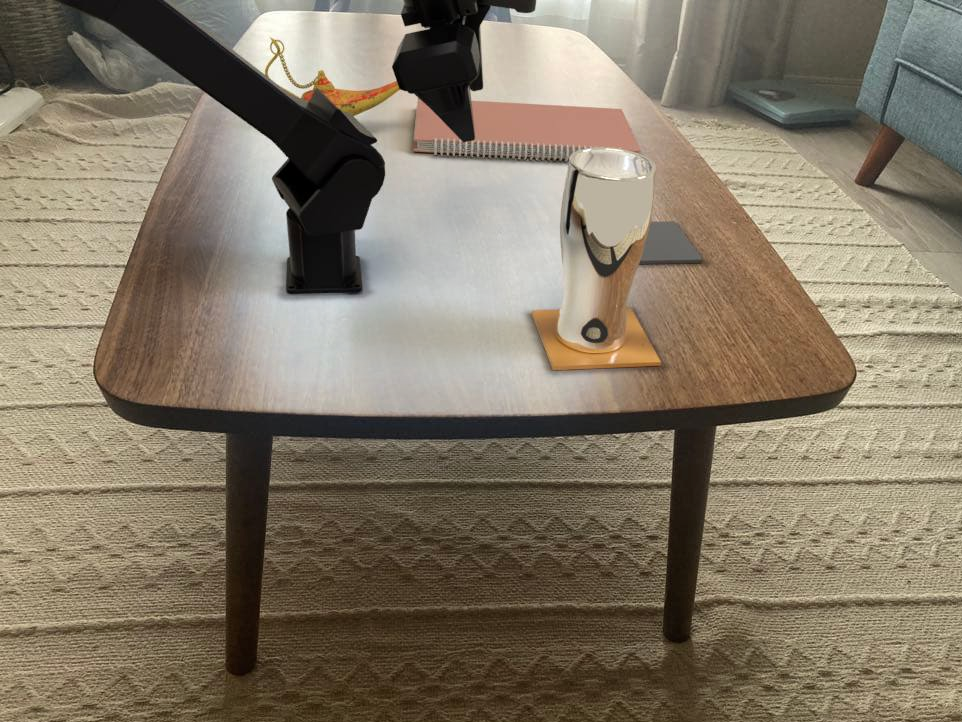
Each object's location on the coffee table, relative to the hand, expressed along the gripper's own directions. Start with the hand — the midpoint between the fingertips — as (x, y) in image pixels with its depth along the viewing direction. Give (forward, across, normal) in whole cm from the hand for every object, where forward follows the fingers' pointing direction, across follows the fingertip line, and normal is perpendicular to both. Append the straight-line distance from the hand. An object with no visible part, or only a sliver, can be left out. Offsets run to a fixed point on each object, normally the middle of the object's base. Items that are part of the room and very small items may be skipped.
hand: (473, 114), depth 82 cm
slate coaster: (+19, +3, -13) cm, 23 cm away
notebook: (+20, +32, +2) cm, 37 cm away
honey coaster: (+14, -16, -8) cm, 23 cm away
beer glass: (+14, -16, -8) cm, 22 cm away
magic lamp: (+13, +28, +22) cm, 38 cm away
